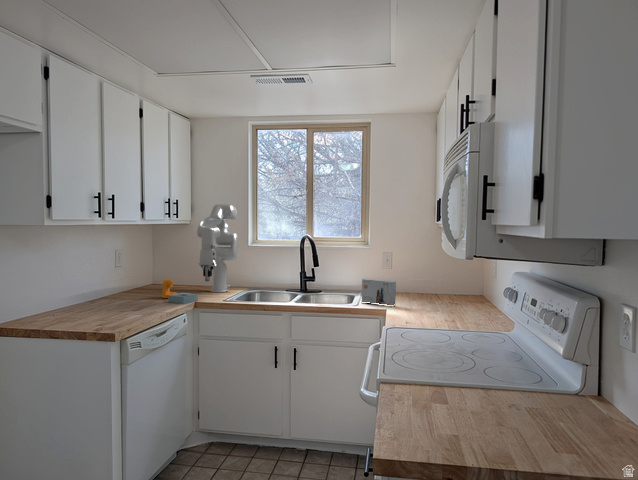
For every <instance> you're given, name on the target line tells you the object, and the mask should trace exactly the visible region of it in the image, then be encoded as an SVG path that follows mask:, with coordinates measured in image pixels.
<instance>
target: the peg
mask: <svg viewBox="0 0 638 480" xmlns="http://www.w3.org/2000/svg"><path fill="white" fill-rule="evenodd" d="M208 270H209V268H208V265H205V276H204V282H210V281H211V276H210V277H208Z"/></svg>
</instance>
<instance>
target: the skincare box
mask: <svg viewBox="0 0 638 480" xmlns="http://www.w3.org/2000/svg"><path fill="white" fill-rule="evenodd" d="M396 291H397V280H388V279H387V280H386V279H378V278H367V277H364V278H362V279H361V303H362V302H370V303H379V304H387V305H394V304H395V305H396V299H397V298H396V296H397V292H396Z"/></svg>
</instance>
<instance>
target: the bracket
mask: <svg viewBox="0 0 638 480" xmlns="http://www.w3.org/2000/svg"><path fill="white" fill-rule="evenodd" d="M173 285H174V281H173V278H164V279H163V282H162V291H161V298H162V299H169V295H173V294H178V291H177V292H175V291H171V290H170V289H172V288H173Z"/></svg>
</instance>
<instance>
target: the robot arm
mask: <svg viewBox="0 0 638 480" xmlns="http://www.w3.org/2000/svg"><path fill="white" fill-rule="evenodd" d="M237 217H238V210H237V208H236V207H235V206H234V205H232V204H225V203H224V204H223V203H222V204H220V203H219V204H214V206H213V207H212V209H211V212H210V214H209V216H208V217H206V218H204V219H202V220H201V221H200V222H199V224H198V226H197V230H196V235H197V237H199V238H200V239H201V249H200V252H199V253H200V254H199V263H198V265H199V266H200V267H201V269H202V277H205V265H208V268H209V270H208V277H210V278H211V277H212V288H211V289H210V292H212V293H226V291H227V292H229V289H228V288H230V287H231V284H228V283H227V274H228V273H227V272H228V271H227V270H228V267H227V264H226V263H225V261H236V260H237V258H238V247H239V236H238V233H236V232H230V231H229V224H228V222H226V220H237ZM215 244H216V245H218V246H215Z"/></svg>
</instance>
